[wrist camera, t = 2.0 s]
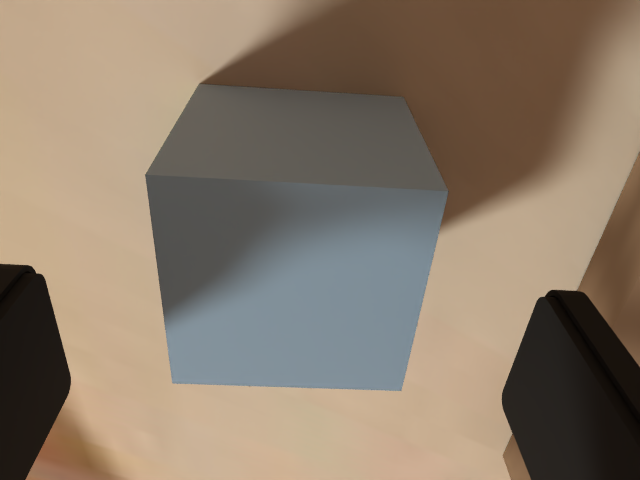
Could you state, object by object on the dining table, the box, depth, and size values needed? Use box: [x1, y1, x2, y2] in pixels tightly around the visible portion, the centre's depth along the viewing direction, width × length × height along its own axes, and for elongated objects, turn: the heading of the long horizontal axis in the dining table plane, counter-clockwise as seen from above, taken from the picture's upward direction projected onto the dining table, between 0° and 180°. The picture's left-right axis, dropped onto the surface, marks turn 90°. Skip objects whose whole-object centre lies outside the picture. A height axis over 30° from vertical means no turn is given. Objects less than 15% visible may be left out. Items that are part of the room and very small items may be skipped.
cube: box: [145, 84, 449, 391], centre depth 12 cm, size 5×5×5 cm
